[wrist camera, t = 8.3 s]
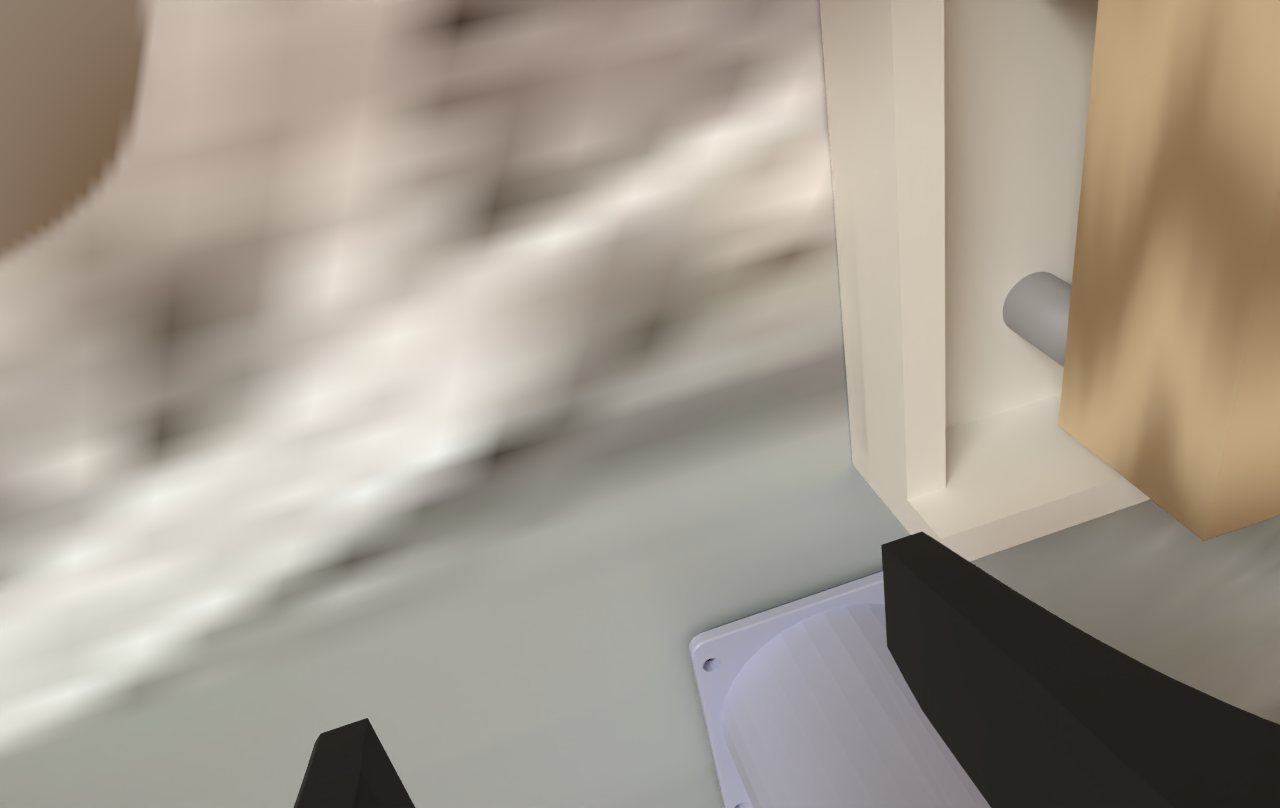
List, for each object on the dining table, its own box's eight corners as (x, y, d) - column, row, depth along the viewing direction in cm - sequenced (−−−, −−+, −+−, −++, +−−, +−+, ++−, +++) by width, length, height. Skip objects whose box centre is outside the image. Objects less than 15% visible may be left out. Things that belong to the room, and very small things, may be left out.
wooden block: (1204, 378, 23) (1375, 482, 19) (1058, 425, 22) (1202, 540, 18) (1317, -203, 16) (1611, -222, 12) (1113, -158, 16) (1355, -163, 12)
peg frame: (1208, 349, 26) (1350, 430, 23) (852, 464, 25) (940, 571, 21) (1335, -366, 18) (1599, -427, 14) (801, -250, 16) (935, -283, 13)
